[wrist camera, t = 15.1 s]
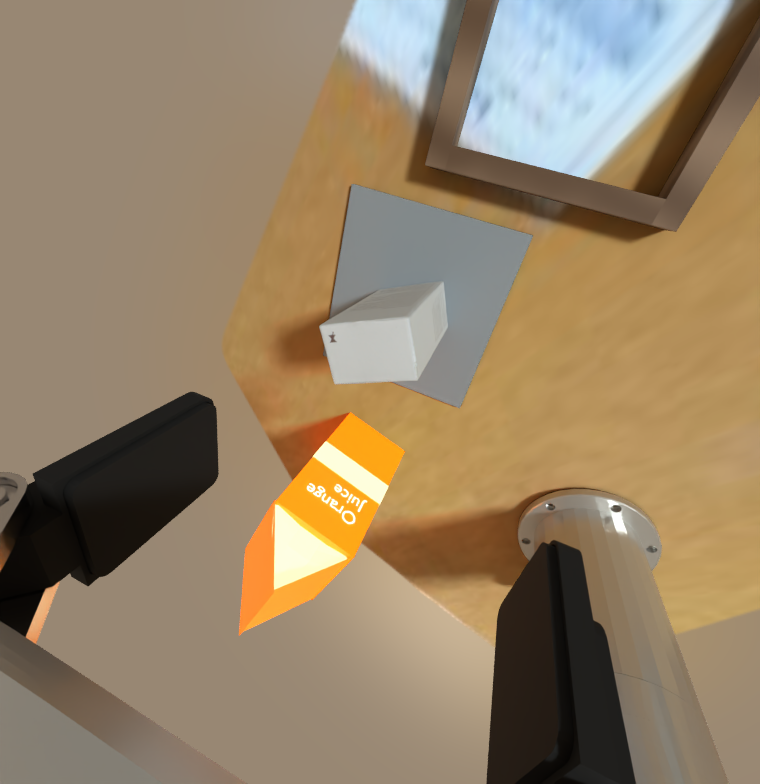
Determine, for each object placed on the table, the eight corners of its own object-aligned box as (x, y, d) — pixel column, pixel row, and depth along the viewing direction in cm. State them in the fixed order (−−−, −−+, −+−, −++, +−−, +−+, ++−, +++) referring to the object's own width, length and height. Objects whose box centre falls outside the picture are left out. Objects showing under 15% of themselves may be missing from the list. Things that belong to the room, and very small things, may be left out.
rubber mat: (460, 406, 35) (459, 408, 35) (324, 354, 38) (323, 355, 38) (532, 235, 27) (532, 235, 27) (353, 184, 30) (351, 183, 29)
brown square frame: (665, 230, 24) (676, 231, 23) (430, 167, 27) (424, 164, 26) (868, -110, 17) (907, -146, 15) (512, -145, 20) (512, -178, 18)
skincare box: (387, 334, 34) (331, 386, 24) (379, 288, 32) (315, 323, 22) (451, 328, 32) (418, 383, 22) (445, 279, 30) (408, 313, 20)
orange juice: (406, 451, 40) (322, 627, 23) (369, 494, 45) (278, 666, 28) (349, 410, 40) (225, 555, 23) (318, 457, 45) (197, 606, 28)
